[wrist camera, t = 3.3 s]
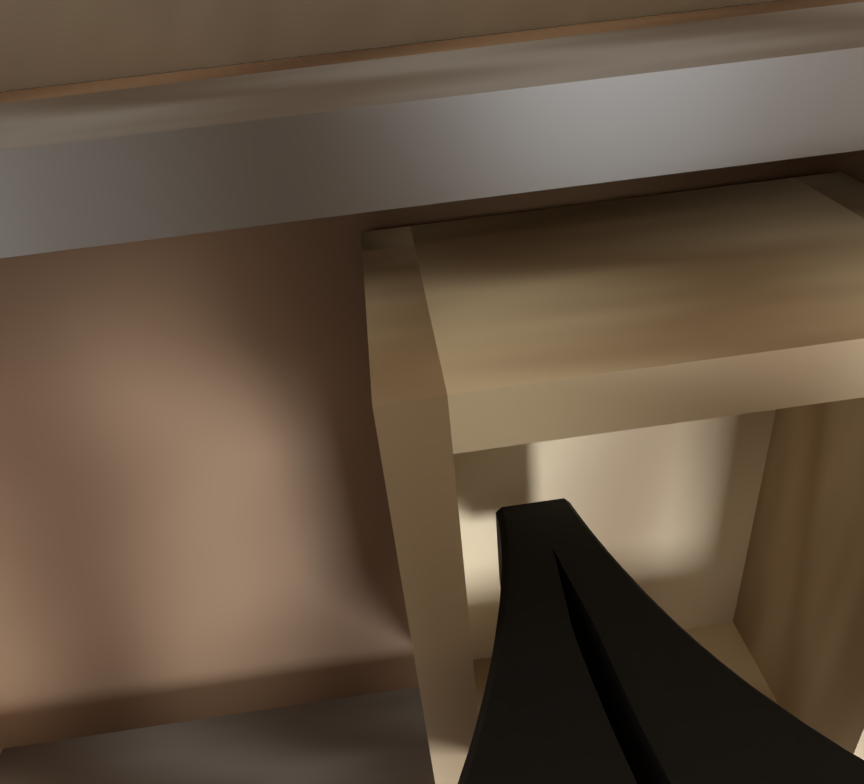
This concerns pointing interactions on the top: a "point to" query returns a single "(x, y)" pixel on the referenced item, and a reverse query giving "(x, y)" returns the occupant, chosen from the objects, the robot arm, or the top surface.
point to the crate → (635, 425)
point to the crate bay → (297, 358)
